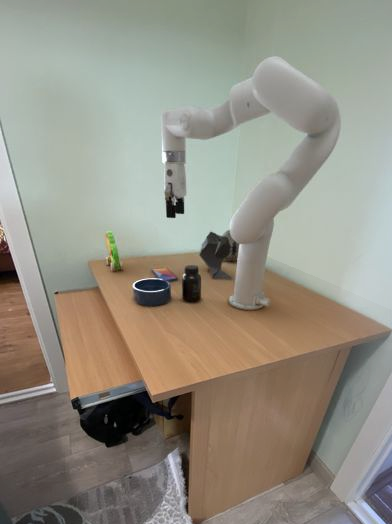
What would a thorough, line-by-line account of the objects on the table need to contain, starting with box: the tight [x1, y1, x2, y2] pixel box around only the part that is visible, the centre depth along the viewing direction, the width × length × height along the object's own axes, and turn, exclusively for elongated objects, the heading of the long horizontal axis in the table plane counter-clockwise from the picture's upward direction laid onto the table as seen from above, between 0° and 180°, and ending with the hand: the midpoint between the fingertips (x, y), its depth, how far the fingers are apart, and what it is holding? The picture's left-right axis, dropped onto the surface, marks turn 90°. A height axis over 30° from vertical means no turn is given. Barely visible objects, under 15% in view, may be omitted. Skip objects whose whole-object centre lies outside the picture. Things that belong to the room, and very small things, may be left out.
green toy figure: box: [105, 231, 124, 272], centre depth 133 cm, size 16×6×15 cm, turn 25°
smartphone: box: [151, 266, 178, 282], centre depth 128 cm, size 7×15×1 cm, turn 23°
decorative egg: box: [221, 229, 240, 262], centre depth 145 cm, size 12×12×15 cm
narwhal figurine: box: [199, 231, 233, 280], centre depth 128 cm, size 14×15×18 cm
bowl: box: [132, 277, 172, 307], centre depth 106 cm, size 13×13×6 cm
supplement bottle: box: [181, 264, 202, 304], centre depth 105 cm, size 7×7×12 cm
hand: (175, 215), depth 105 cm, fingers open, 9 cm apart
